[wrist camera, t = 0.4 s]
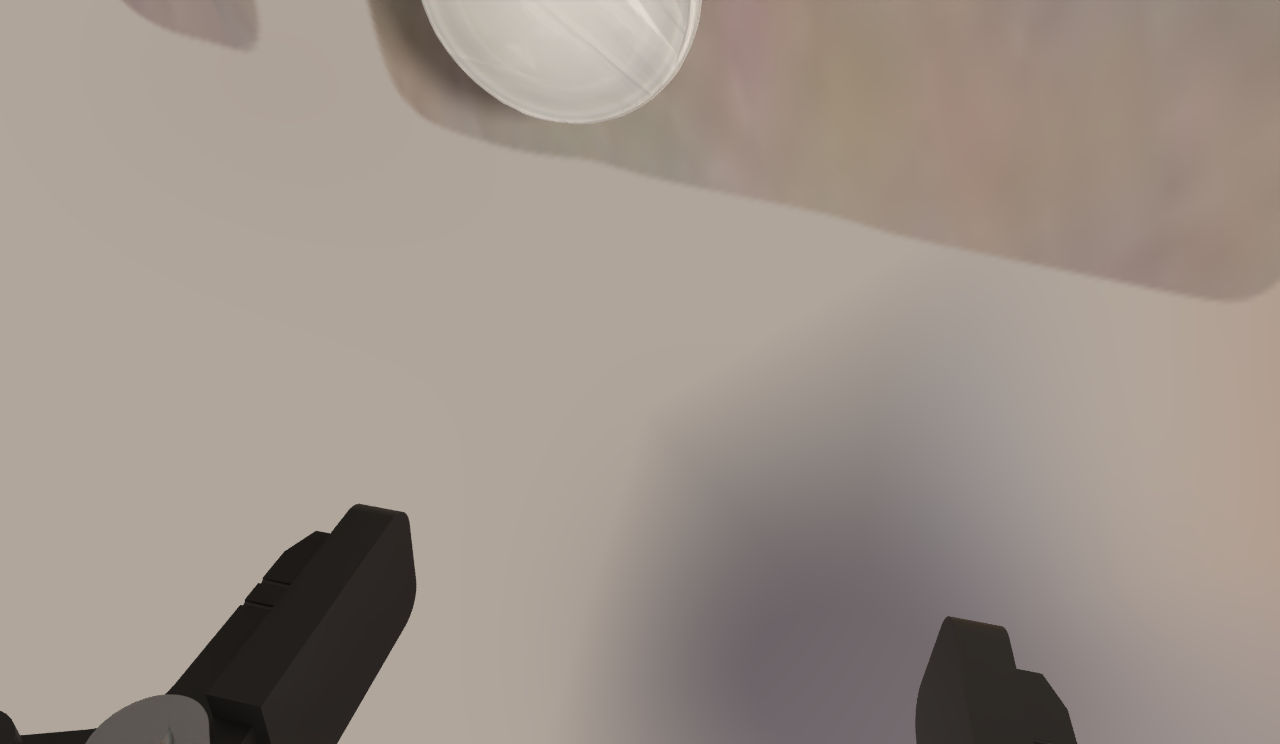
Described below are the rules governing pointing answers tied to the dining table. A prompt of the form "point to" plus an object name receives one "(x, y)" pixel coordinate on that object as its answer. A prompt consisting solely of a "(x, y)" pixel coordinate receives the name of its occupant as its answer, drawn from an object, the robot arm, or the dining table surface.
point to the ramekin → (568, 51)
